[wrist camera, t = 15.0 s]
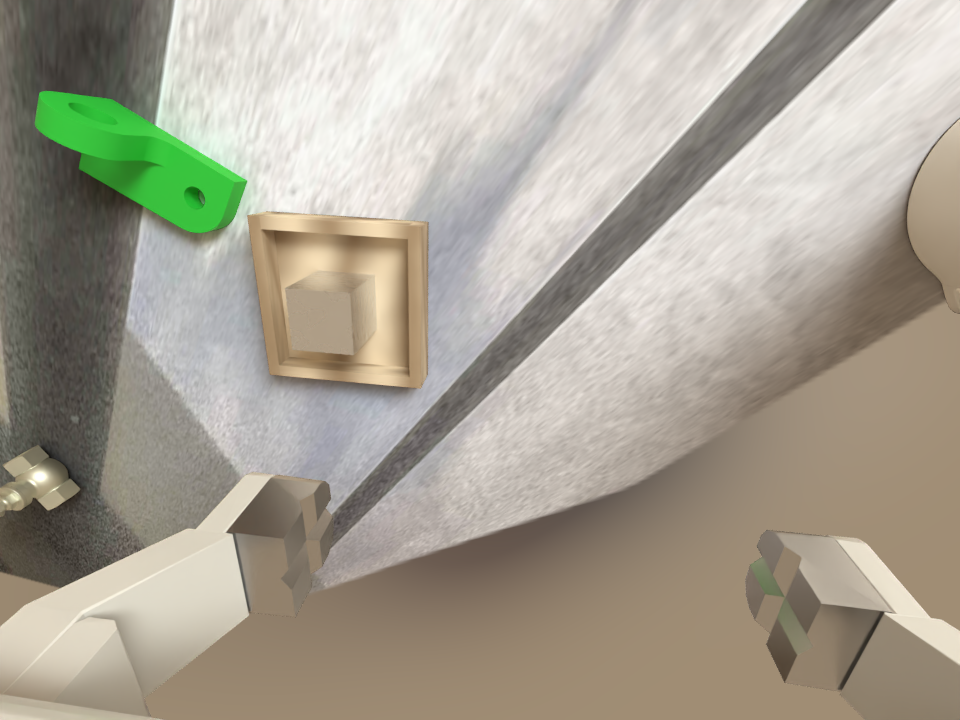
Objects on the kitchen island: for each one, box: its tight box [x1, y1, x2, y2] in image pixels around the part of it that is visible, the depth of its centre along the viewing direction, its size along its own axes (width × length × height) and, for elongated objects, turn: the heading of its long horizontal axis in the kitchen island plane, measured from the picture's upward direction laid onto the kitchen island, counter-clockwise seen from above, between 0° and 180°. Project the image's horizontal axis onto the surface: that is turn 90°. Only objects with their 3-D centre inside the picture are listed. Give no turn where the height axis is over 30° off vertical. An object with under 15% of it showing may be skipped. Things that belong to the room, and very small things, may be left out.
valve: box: [0, 445, 80, 517], centre depth 50 cm, size 7×7×12 cm
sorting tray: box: [247, 211, 428, 388], centre depth 42 cm, size 14×14×3 cm
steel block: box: [285, 270, 377, 355], centre depth 39 cm, size 5×5×6 cm
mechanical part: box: [35, 91, 247, 233], centre depth 37 cm, size 12×6×8 cm, turn 59°
